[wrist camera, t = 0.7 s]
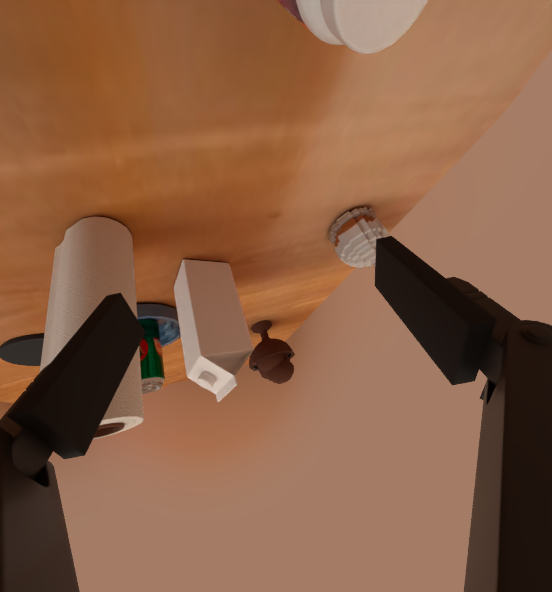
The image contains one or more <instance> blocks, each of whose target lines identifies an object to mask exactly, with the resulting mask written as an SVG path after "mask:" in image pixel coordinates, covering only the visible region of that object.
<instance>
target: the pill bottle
mask: <svg viewBox="0 0 552 592" xmlns="http://www.w3.org/2000/svg"><path fill="white" fill-rule="evenodd" d="M277 1H278V2H279V3H280V4H281V5H282V6H283V7H284V8H285V9H286V10H287V11H288V12H289V13H290V14H292V15H293V16H294V17H295V18H296V19H297V20H298V21H300V22H301V23H302V24H303V25H304V26H305V27H306V28H307V29H308V30H309V31H310V32H311V33H313V34H314V35H315V36H316V37H318V38H319V39H320V40H322V41H324V42H326V43H328V44H332V45H346V46H347V47H349V48H350V49H352V50H354V51H356V52H358V53H362V54H372V53H376V52H379V51H381V50H384V49H385V48H387V47H389V46H391V45H392V44H393V43H395V42H396V41H397V40H398V39H399V38H401V37H402V36H403V35H404V34H405V33H406V31H407V30H408V29H409V28H410V27H411V26H412V24H413V23H414V22H415V20H416V19H417V17H418V16H419V15H420V13H421V11H422V10H423V8H424V7H425V5H426V3H427V1H428V0H277Z"/></svg>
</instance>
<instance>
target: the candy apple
mask: <svg viewBox="0 0 552 592" xmlns="http://www.w3.org/2000/svg"><path fill="white" fill-rule="evenodd" d="M375 218H376V215H375V213H374V212H373V210H372V209H371V208H370V209H369V210H367V208H366V207H364V208H363V209H362V208H359V209H358V210H357V208H356V209H354V210H353V211H352V212H349V211H348V212H347V213H345V214H344V215H343V216H341V217H340V218H339V219H337V220H336V221H337V223H335V224H334V225H333V226H331V227H332V229H331V230H330V231H331V232H330V233H329V236H330V238H329V240H330V242H331V243H333V244H334V245H335V246H336V248H334V249H335V251H336V253H337V255H338V257H339V258H340V260H342V261H343V262H344V263H345V264H346V263H347V264H348V265H349V266H351V267H352V266H354V267H355V268H356V267H359V268H362V267H364V266H365V265H367V266H368V267H370V266H371V265H373V266H374V267H375V262H376V239H379V238H384V237H387V236H388V235H389V233H388V232H387V230H386V228H385V227H384V226H383V224H382V223H381V221H380V220H379V219H378V218H377V219H376V220H374V219H375Z"/></svg>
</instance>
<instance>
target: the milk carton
mask: <svg viewBox="0 0 552 592" xmlns="http://www.w3.org/2000/svg"><path fill="white" fill-rule="evenodd" d="M174 293H175V300H176V307H177V313H178V320H179V327H180V333H181V340H182V347H183V353H184V360H185V367H186V373H187V377H188V378H189V379H191V380H192V381H194V382H196V383H197V384H199V385H200V386H201V387H203V388H206V389H208V390H209V391H211V392H213V393H214V394H216V397H217V402H219V401H220V400H221V399H222V398H223V397H225V396H226V395H227V394H228V393H229V392H230V391H231V390H232V389H233V388H234V387H235V386H236V385H237V380H236V376H235V375H236V374H237V372H238V371H239V370H240V368H241V367H242V366H243V364H244V363H245V361H246V360H247V359H248V357H249V356H250V355H251V353H252V352H253V350H254V348H253V344H252V341H251V338H250V334H249V331H248V327H247V324H246V320H245V317H244V313H243V310H242V306H241V303H240V299H239V296H238V293H237V289H236V286H235V282H234V279H233V275H232V272H231V268H230V265H229V263H222V262H210V261H198V260H186V259H183V261H182V263H181V266H180V270H179V273H178V276H177V279H176V282H175V285H174Z"/></svg>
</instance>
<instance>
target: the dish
mask: <svg viewBox="0 0 552 592" xmlns="http://www.w3.org/2000/svg"><path fill="white" fill-rule="evenodd" d="M146 318H149V319H153V320H155V321H156V322H158V323H159V329H160V339H161V347H164V346H166V345H168V344H171V343H173V342H174V341H176V340H177V339H179V338H180V337H181V333H180V327H179V320H178V313H177V310H176V309H174V308H171V307H168V306H165V305H158V304H139V305H137V319H146Z"/></svg>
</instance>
